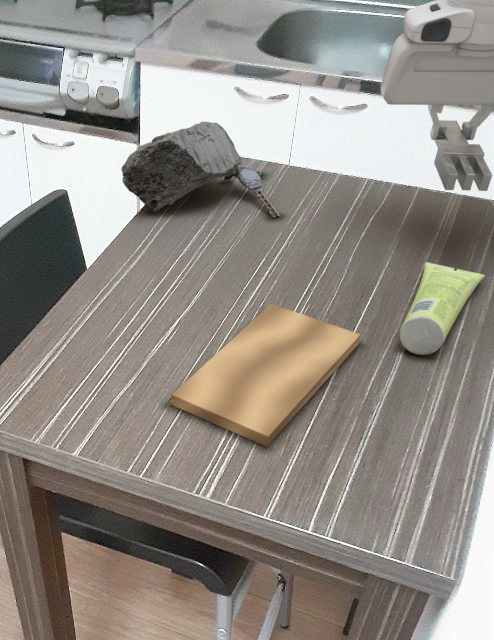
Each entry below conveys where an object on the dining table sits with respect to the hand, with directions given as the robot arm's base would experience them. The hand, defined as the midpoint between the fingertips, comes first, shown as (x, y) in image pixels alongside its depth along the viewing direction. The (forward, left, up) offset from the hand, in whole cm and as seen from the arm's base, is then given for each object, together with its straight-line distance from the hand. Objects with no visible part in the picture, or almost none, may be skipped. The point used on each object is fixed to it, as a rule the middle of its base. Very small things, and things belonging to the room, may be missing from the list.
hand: (451, 138), depth 99 cm
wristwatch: (+26, +5, -13) cm, 30 cm away
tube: (-11, +30, -10) cm, 33 cm away
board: (+2, +42, -13) cm, 44 cm away
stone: (+43, +12, -7) cm, 45 cm away
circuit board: (+32, -4, -13) cm, 35 cm away
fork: (-2, +3, -2) cm, 4 cm away
